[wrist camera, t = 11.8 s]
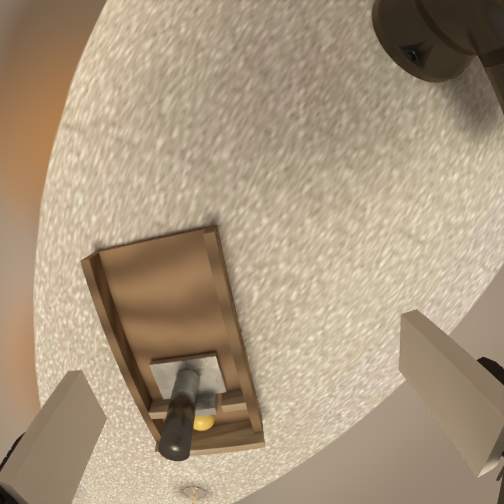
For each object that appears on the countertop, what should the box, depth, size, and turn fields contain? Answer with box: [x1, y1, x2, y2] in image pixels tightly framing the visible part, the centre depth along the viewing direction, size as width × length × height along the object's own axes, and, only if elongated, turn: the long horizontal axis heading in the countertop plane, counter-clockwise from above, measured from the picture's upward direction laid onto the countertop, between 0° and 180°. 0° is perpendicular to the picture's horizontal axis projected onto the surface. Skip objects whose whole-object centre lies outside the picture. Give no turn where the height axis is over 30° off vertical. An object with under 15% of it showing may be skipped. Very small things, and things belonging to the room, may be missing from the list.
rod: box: [149, 352, 227, 461], centre depth 33 cm, size 7×9×14 cm
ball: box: [193, 415, 215, 431], centre depth 40 cm, size 4×4×4 cm
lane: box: [81, 225, 265, 457], centre depth 38 cm, size 30×16×6 cm, turn 11°
